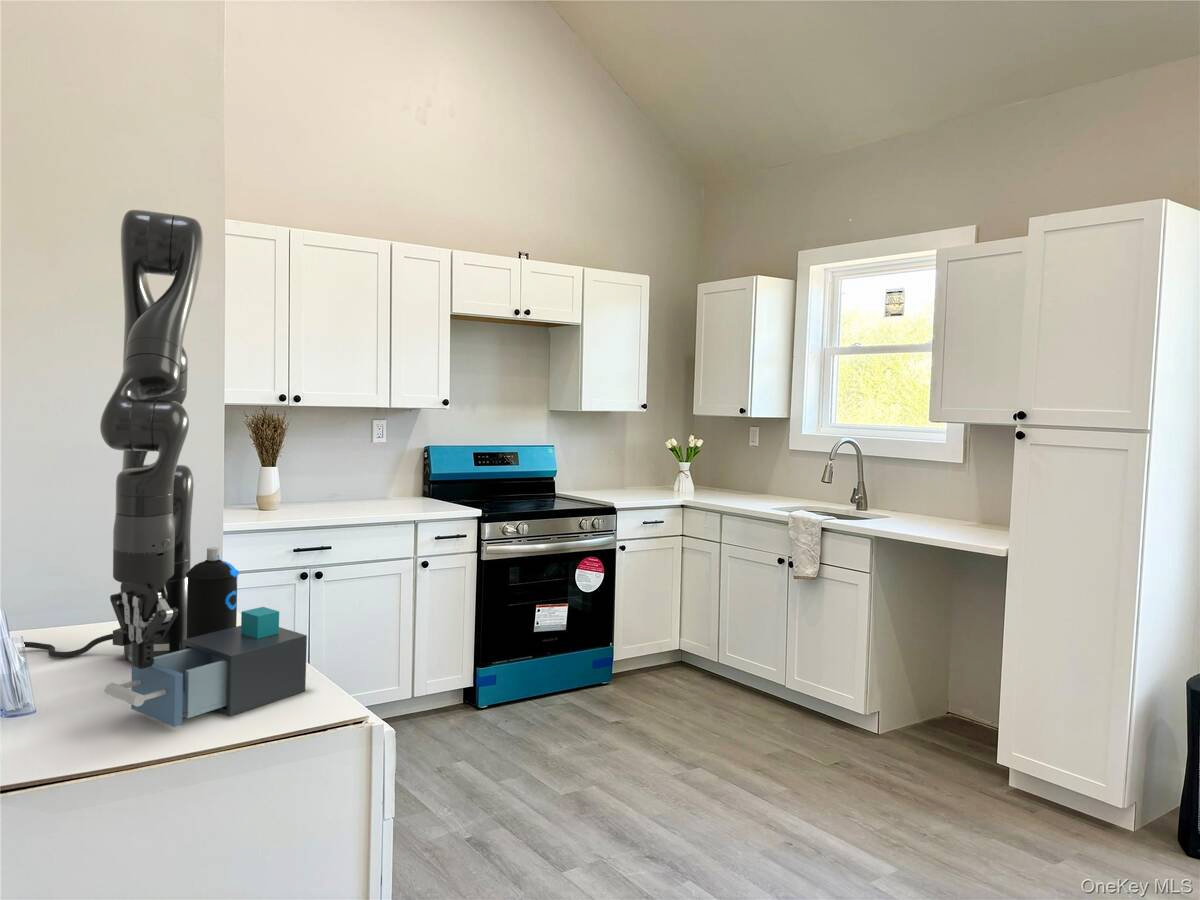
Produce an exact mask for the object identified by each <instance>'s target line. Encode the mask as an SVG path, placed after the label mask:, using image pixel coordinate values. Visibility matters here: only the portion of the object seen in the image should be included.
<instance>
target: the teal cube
mask: <svg viewBox="0 0 1200 900" xmlns="http://www.w3.org/2000/svg"><path fill="white" fill-rule="evenodd" d="M240 617H241V618H240V620H241V621H240V626H241V634H243V635H246V636H249V637H252V638H255V639H260V638H264V637H267V636H271V635H275V634H279V627H280V611H279V610H276V609H272V608H269V607H266V606H260V607H256V608H251V609H246V610H242V611H241V616H240Z"/></svg>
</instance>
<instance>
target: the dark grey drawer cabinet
mask: <svg viewBox="0 0 1200 900" xmlns="http://www.w3.org/2000/svg"><path fill="white" fill-rule="evenodd" d="M307 640H308V635H306V634H303V633H300V632H297V631H294V630H290V629H287V628H284V627H282V626H281V627H280V626H279V634H275V635H271V636H267V637H264V638H260V639H255V638H252V637H249V636H246V635H243V634H241V625H238V626H237V625H236V627H233V628H229V629H225V630H221V631H217V632H213V633H208V634H204V635H200V636H196V637H192V638H188V639H184V640H183V650H185V649H189V648H194V649H197V650H200V651H203V652H206V653H209V654H212V655H215V656H218V657H220V658H223V659H226V660H228V674H227V706H224V707H221V708H218V709H215V710H214V711H215V712H216V713H220V714H222V715H225V716H228V717H233V716H236V715H239V714H242V713H245V712H247V711H251V710H254V709H257V708H259V707H260V708H261V707H263V706H266V705H269V704H271V703H275V702H277V701H281V700H283V699H286V698H289V697H292V696H295V695H298V694H301V693H305V692H306V682H307V681H306V679H307V677H306V676H307V645H308V643H307V642H308V641H307Z"/></svg>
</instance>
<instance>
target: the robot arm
mask: <svg viewBox="0 0 1200 900" xmlns="http://www.w3.org/2000/svg"><path fill="white" fill-rule="evenodd" d="M120 256H121V273H122V289H123V301H124V329H123V332H124V334H123V353H122V354H123V356H122V358H123V359H122V373H121V376H120V378H119V380H118V383H117V385H116V386H115V388H114V390H113V393H112V394H111V396H110V398H109V400H108V402H107V403H106V405H105V407H104V410H103V412H102V414H101V418H100V425H99V430H100V436H101V438H102V439H103V441H104V443H105V445H106V446H108V447H109V448H111V449H113V450H115V451H116V450H117V451H123V452H122V467H121V471H120V472H119V473H118V474H117V475H116V479H115V517H114V522H113V523H114V524H113V530H112V534H113V535H112V536H113V537H112V577H113V579H114V580H115V581H116V582H117V583H120V591H119V592H118V593H114V594H110V597H109V599H110V602H111V606H112V609H113V612H114V614H115V616H116V620H117V621H118V624H119V627H118V628H116V629H114V630H112V633H109V634H106V635H102V636H99V637H96V638H95V639H92V640H91V641H90V642H89V643H87V644H86V645H85V646H83V647H80V648H78V649H75V650H69V651H56V647H55V646H54V645H53V644H49V643H42V642H36V641H35V642H34V641H23V642H24V644H25V647H24V648H30V649H38V650H44V651H47V653H48V656H50V657H53V658H71V657H77V656H80V655H83V654H85V653H87V652H89V651H90V650H91V649H92V648H94V647H95V646H96V645H98V644H101V643H104V642H107V641H111V640H112V646H118V647H119V646H120V647H123V659H125V660H128V661H129V662H131V666H132V665H133V666H134V667H136V668H139V669H143V668H147V667H151V666H152V665H153V660H154V657H157V656H161V655H165V654H169V653H173V652H177V651H181V650H183V640H184V639H187V584H188V577H187V576H186V573H187V572H188V571H190V569H191V555H192V554H191V551H192V550H191V546H192V545H191V541H192V540H191V533H192V532H191V531H192V530H191V529H192V514H193V501H194V500H193V499H194V487H195V485H194V475H193V472H192V470H191V469H190V467H189V466H188V465H185V464H178V462H179V459H180V456H181V452H182V451H183V448H184V444H185V441H186V438H187V435H188V432H189V428H190V419H189V418H190V417H189V415H188V412H187V410H186V409H185V407H184V406H183V403H184V402H185V400H186V398H187V394H188V372H189V371H188V367H189V358H188V355H187V352H186V350H185V347H184V345H183V343H184V339H185V338H184V337H185V332H186V328H187V325H188V319H189V316H190V312H191V310H192V306H193V302H194V299H195V294H196V290H197V287H198V281H199V278H200V272H201V270H202V269H201V268H202V262H203V256H204V235H203V228H202V225H201V224H200V221H198V220H197V219H196V218H193V217H190V216H185V215H181V214H179V215H178V214H173V213H166V212H159V211H158V212H157V211H151V210H143V209H130V210H127V211H126V212H125V214H124V215H123V218H122V221H121V228H120ZM147 274H150V275H156V276H157V275H158V276H165V277H166V276H167V277H173V279H172V281H171V283H170V285H169V287H168V288H167V289H166V290H165V291H164V292H163V293H162V295H161V296H159V298H157V300H156V301H155V299H154V297H153V295H152V291H151V287H150V285H149V280H148V276H147ZM149 452H158V456H157V459H156V460H155V461H154V462H153V463H151V464H145V461H146V457H147V455H148V453H149Z"/></svg>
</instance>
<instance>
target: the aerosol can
mask: <svg viewBox="0 0 1200 900" xmlns="http://www.w3.org/2000/svg"><path fill="white" fill-rule="evenodd" d="M239 575H240V571H239V570H238V569H237V568H236V567H235V566H234V565H233V564H232V563H230V562H227V561H225V560H222V559H220V547H218V546H210V547H207V548H206V559H205V560H204V561H201V562H198V563H196V564H194V565H193V566H192V567H190V571H188V572H187V573H186V576H187V577H188V584H187V639H188V638H192V637H196V636H200V635H204V634H208V633H213V632H217V631H221V630H225V629H229V628H233V627H237V616H238V615H237V611H238V576H239Z"/></svg>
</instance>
